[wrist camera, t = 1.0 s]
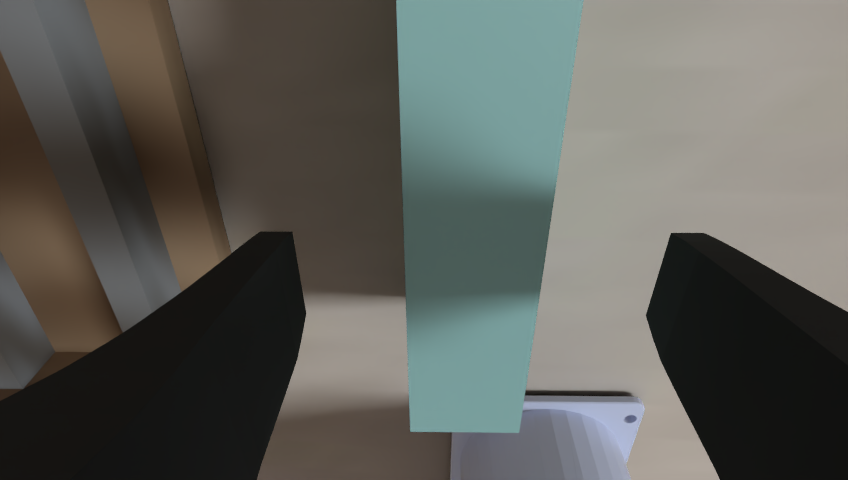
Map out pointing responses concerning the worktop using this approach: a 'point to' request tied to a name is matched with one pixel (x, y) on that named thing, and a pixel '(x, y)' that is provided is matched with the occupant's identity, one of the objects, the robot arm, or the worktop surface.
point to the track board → (95, 179)
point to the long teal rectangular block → (478, 197)
